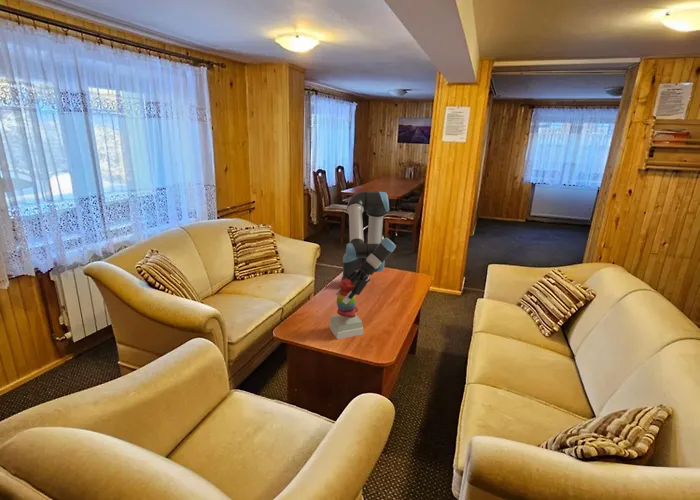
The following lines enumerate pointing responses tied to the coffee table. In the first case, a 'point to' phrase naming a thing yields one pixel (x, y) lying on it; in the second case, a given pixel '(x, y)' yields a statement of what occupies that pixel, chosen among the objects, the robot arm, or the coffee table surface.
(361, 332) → the tower base
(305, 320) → the coffee table surface
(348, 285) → the stacking bear
